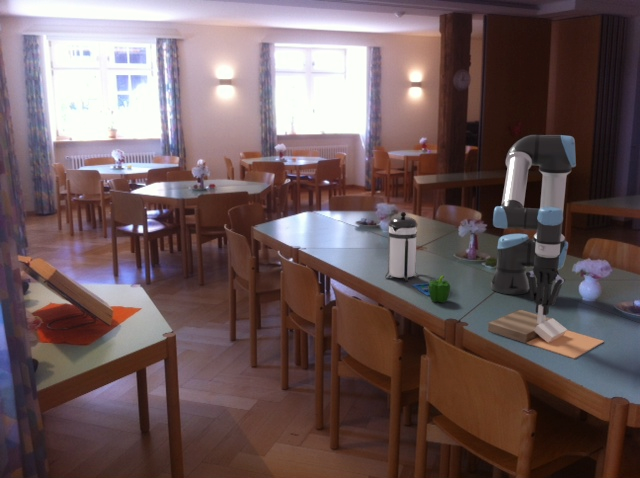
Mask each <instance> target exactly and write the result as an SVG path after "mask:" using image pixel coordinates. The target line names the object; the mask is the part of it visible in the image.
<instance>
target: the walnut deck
mask: <svg viewBox="0 0 640 478" xmlns="http://www.w3.org/2000/svg"><path fill="white" fill-rule="evenodd" d="M537 317H538V313H534V312H530V311H525V310H522V309H519V310H517V311H516V310H515V311H514V312H512V313H509V314H507V315H504V316H502V317H500V318H496V319H495V320H492V321H490V322H488V329H487V331H488V332H490V333H493V334H495V335H498V336H499V335H500V336H501V337H505V338H508V339H512V340H515V341H518V342H520V343H523V344H527V342H529V341H531V340H533V339H535V338H537V337H539V335H538V334H537V333H536V332H534V330H535V328H536V326H537V325H539V324H537ZM550 319H552V317H547V316H546V320H545V321H548V320H550ZM553 319H554V320H556V321H557V322H558V320H557V319H555V318H553Z"/></svg>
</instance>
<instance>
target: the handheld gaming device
mask: <svg viewBox="0 0 640 478" xmlns="http://www.w3.org/2000/svg"><path fill="white" fill-rule="evenodd" d="M429 283H430V282H427V283H426V282H425V283H416V284H412V287H413V288H415V289H416V290H418V291H419V292H420V293H422V294H423V295H425V296H427V297H430V293H429Z"/></svg>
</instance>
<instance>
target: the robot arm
mask: <svg viewBox="0 0 640 478" xmlns="http://www.w3.org/2000/svg"><path fill="white" fill-rule="evenodd" d="M576 159H577V158H576V142H575V138H574V137H573V136H571V135H564V134H563V135H562V134H545V135H544V134H530V135H526V136H524V137H522V138H520V139H519V140H517V141H516V142H515V143H514V144H513V145H512V146H511V147H510V148H509V150H508V152H507V154H506V158H505V166H506V168H507V170H506V174H505V181H504V188H503V193H502V198H501V199H502V200H501V205H500V206H499V205H497V206H495V207H494V209H493V216H492V217H493V218H492V225H493V227H495V228H499V229H505V230H507V229H508V230H524V231H536V233H535V234H534V235H533V238H530V237H529V235H528V234H525V233H509V234H504V235H502V236H500V237H499V238H498V241H497V247H496V248H497V253H496V254H497V257H496V270H495V272H494V275H493V277H492V280H491V282H490V289H491V290H492V291H494V292H496V293H500V294H503V295H504V294H505V295H514V296H515V295H524V294H527V293H529V295H530V300H531V302H535V314H537V315H538V317H537V324H541V323H543V322H545V320H546V317H547V316H548V315H549V310H550V307H551V306H554V305H555V304H556V303H557V299H558V297H559V294H560V291H561V288H562V285H564V283H565V282H566V279H565V278H564V277H563V278H562V277H561V276H560V275H559V273H560V272H559V270H561V269H562V268H563V267H564V264H565V261H566V258H567V252H568V248H569V242H568V241H567V240H566V237H565V236H564V234H562V230H563V221H564V207H565V206H564V205H565V195H566V186H567V185H566V183H567V176H568V175H569V174H570V173H571V172H572V168H575V167H576V166H577V163H576V162H577V161H576ZM532 166H535V167H536V166H539V167H538V171H539V172H540V173H541V174H542V179H541V180H542V181H541V191H540V192H541V194H540V206H539V208H531V207H524V206H525V198H526V190H527V183H528V176H529V175H528V174H529V169H531V167H532ZM527 268H532V270H530V271H526V269H527ZM553 282H555V284H554V286H553ZM552 286H553V288H552Z"/></svg>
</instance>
